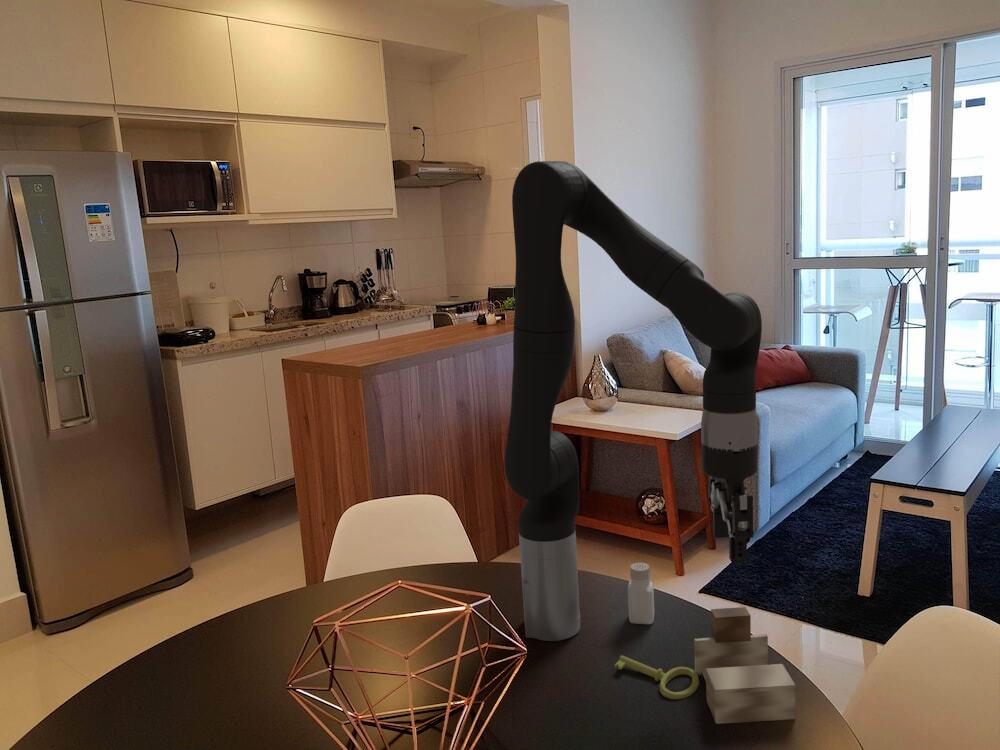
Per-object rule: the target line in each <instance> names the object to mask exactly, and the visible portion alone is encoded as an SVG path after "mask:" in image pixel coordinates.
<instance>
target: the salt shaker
mask: <svg viewBox="0 0 1000 750" xmlns="http://www.w3.org/2000/svg"><path fill="white" fill-rule="evenodd" d="M629 572H630V581H629V582H628V586H627V603H628V605H627V608H628V620H629V622H630V623H631V624H635V625H637V624H638V625H639V624H640V625H652V624H653V623H654V618H655V595H654V594H655V593H654V591H655V589H654V582H652V581H651V580H650V578H651V567H650V564H647V563H644V562H634V563H631V565H630V566H629Z"/></svg>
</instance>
